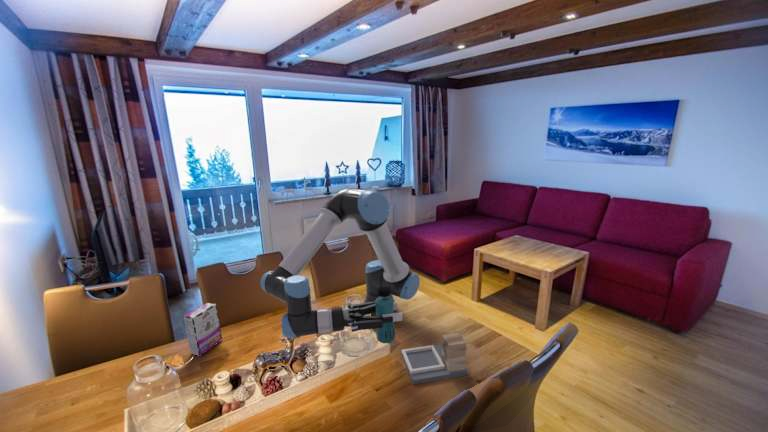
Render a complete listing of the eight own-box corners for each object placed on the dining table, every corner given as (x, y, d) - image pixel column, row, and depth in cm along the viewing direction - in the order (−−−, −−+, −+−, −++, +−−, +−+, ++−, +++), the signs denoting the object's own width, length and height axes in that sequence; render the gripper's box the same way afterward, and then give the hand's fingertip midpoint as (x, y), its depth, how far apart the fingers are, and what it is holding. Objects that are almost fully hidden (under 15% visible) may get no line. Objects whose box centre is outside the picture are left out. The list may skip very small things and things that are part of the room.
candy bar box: (213, 338, 136) (207, 302, 132) (222, 340, 134) (217, 303, 131) (189, 355, 125) (182, 315, 122) (199, 357, 124) (192, 317, 120)
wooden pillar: (441, 360, 116) (442, 335, 114) (458, 358, 117) (458, 332, 115) (448, 372, 110) (448, 345, 108) (465, 369, 111) (466, 342, 109)
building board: (401, 354, 122) (400, 348, 122) (449, 346, 126) (449, 340, 125) (413, 384, 107) (413, 377, 107) (467, 375, 111) (468, 368, 110)
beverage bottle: (384, 350, 110) (382, 294, 105) (372, 341, 115) (370, 288, 110) (399, 342, 114) (397, 288, 109) (386, 334, 119) (385, 282, 114)
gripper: (330, 315, 119) (393, 307, 123) (333, 347, 100) (407, 336, 104) (329, 296, 117) (392, 288, 121) (331, 325, 99) (406, 315, 103)
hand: (399, 311), depth 113 cm, fingers closed on beverage bottle, 6 cm apart
